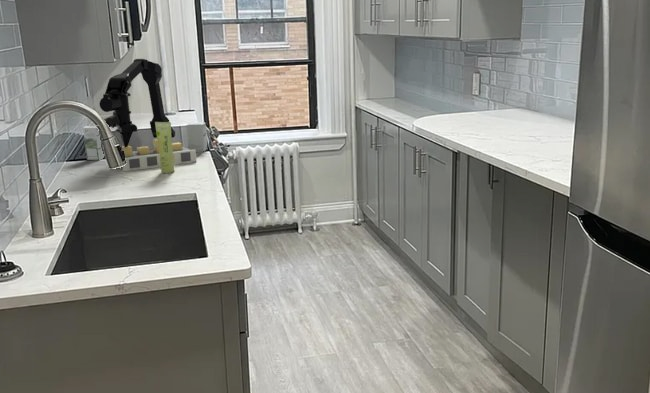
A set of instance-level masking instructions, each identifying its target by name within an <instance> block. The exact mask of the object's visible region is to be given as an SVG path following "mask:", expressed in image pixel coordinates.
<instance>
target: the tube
mask: <svg viewBox="0 0 650 393" xmlns="http://www.w3.org/2000/svg"><path fill="white" fill-rule="evenodd" d="M155 126H156V133H157V138H156V139H157V140H158V147H159V155H160V164H161V166H160V170H161V173H162V174H163V173H164V174H171V173H174V172H175V165H174V161H173V150H172V143H173V138H172V137H171V127H172V122H170V121H169V122H155Z"/></svg>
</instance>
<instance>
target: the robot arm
mask: <svg viewBox="0 0 650 393" xmlns="http://www.w3.org/2000/svg"><path fill="white" fill-rule="evenodd" d="M132 61H133V62H132V63H131V64H130V65H128V66H127V67H126V69H124V71H122V72H121V73H119V74H115V75H113V76H112V77H110V78H109V80H108V82H107V86H106V90H105V92H104V93H103V95H102V98H101V99H100V101H99V108H100V109H101V110H102V111H103V112H105V113H110V112H112V115H110V116H107V117H105V118H104V120H105V121H106V123H107V124H108V125H109V127H110V128H111V129H114V128H116V129H115V130H114V131H115V132H117V134H119V136H120V138H121V142H122V143H123V146H124V147H128V146H129V144H130V141H131V139H132V135H133V133H134V132H138V126H137V125H136V124H134V123H133V121H132V120H131V114H132V111H131V110H130V105H129V104H130V103H129V97H131V93H130V92H128V91H129V90H130V88H131V87H132V82H133V81H134V79H135V78H137V77H138V76H139V75H140V74H141V77H142V79H143V81H144V82H145V83H146V85H147V88H148V92H149V98H150V100H149V101H150V104H151V111H152V116H153V117H152V119H151V120H150V121H149V125H150V131H151V134H152V137H153V139H157V133H156V126H155V122H170V119H169V118H168V117H167V115H166V113H165V110H164V109H165V108H164V104H163V98H162V97H163V96H162V91H161V86H160V85H161V84H160V83H161V80H162V77H163V70H162V67H161V65H160V64H159V63H155V62H153V61H150V60H147V59H145V58H134V60H132ZM171 137H172V139H173V138H175V137H176V131H175V129H174V128H173V127H172V126H171Z"/></svg>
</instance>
